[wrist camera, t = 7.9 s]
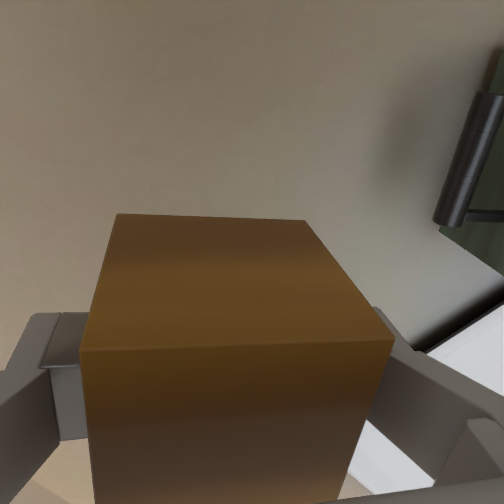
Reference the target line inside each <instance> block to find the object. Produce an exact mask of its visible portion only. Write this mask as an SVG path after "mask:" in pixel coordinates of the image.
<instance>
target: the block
mask: <svg viewBox="0 0 504 504" xmlns="http://www.w3.org/2000/svg"><path fill="white" fill-rule="evenodd" d="M394 342H395V336H394V335H393V333H392V332H391V331H390V330H389V328H388V327H387V326H386V324H385V323H384V322H383V321H382V319H381V318H380V317H379V315H378V314H377V313H376V311H375V310H374V309H373V308H372V306H371V305H370V304H369V302H368V301H367V300H366V299H365V297H364V296H363V295H362V293H361V292H360V291H359V290H358V288H357V287H356V286H355V284H354V283H353V282H352V280H351V279H350V278H349V277H348V275H347V274H346V273H345V271H344V270H343V269H342V268H341V266H340V265H339V264H338V262H337V261H336V260H335V258H334V257H333V256H332V255H331V253H330V252H329V251H328V249H327V248H326V247H325V246H324V244H323V243H322V242H321V240H320V239H319V238H318V236H317V235H316V234H315V233H314V231H313V230H312V229H311V227H310V226H309V225H308V224H307V222H306V221H305V220H283V219H255V218H227V217H199V216H171V215H143V214H117V215H116V217H115V221H114V225H113V228H112V232H111V235H110V239H109V243H108V246H107V250H106V254H105V257H104V261H103V264H102V268H101V272H100V275H99V279H98V282H97V286H96V290H95V293H94V297H93V300H92V304H91V308H90V311H89V315H88V318H87V322H86V326H85V329H84V333H83V336H82V340H81V344H80V347H79V359H80V368H81V377H82V387H83V396H84V406H85V415H86V424H87V434H88V443H89V453H90V462H91V471H92V481H93V490H94V499H95V504H311V503H318V502H325V501H333V500H337V498H338V496H339V493H340V490H341V487H342V485H343V482H344V479H345V477H346V474H347V471H348V468H349V466H350V463H351V460H352V457H353V455H354V452H355V449H356V446H357V444H358V441H359V438H360V435H361V433H362V430H363V427H364V424H365V422H366V419H367V416H368V413H369V411H370V408H371V405H372V403H373V400H374V397H375V394H376V392H377V389H378V386H379V383H380V381H381V378H382V375H383V372H384V370H385V367H386V364H387V361H388V359H389V356H390V353H391V350H392V348H393V345H394Z"/></svg>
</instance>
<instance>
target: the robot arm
mask: <svg viewBox="0 0 504 504" xmlns="http://www.w3.org/2000/svg"><path fill="white" fill-rule="evenodd" d="M372 308H373V309H374V310H375V311H376V313H377V314H378V315H379V317H380V318H381V319H382V321H383V322H384V323H385V324H386V326H387V327H388V328H389V330H390V331H391V332H392V333H393V335H394V336H395V342H394V345H393V348H392V350H391V353H390V356H389V359H388V361H387V364H386V367H385V370H384V372H383V375H382V378H381V381H380V383H379V386H378V389H377V392H376V394H375V397H374V400H373V403H372V405H371V408H370V411H369V413H368V416H367V419H366V420H367V421H368V422H370V423H371V424H372V425H373V426H374V427H375V428H376V429H377V430H378V431H380V432H381V433H382V434H383V435H384V436H385V437H386V438H387V439H389V440H390V441H391V442H392V443H393V444H394V445H395V446H396V447H397V448H399V449H400V450H401V451H402V452H403V453H404V454H405V455H406V456H408V457H409V458H410V459H411V460H412V461H413V462H414V463H415V464H416V465H418V466H419V467H420V468H421V469H422V470H423V471H424V472H425V473H427V474H428V475H429V476H430V477H431V478H432V479H433V480H434V483H433V485H432V487H427V488H419V489H412V490H405V491H398V492H390V493H383V494H376V495H369V496H362V497H354V498H347V499H340V500H333V501H325V502H318V503H311V504H504V396H502V395H500V394H498V393H496V392H494V391H493V390H491V389H489V388H487V387H485V386H483V385H482V384H480V383H478V382H476V381H474V380H472V379H471V378H469V377H467V376H465V375H463V374H461V373H460V372H458V371H456V370H454V369H452V368H450V367H449V366H447V365H445V364H443V363H441V362H439V361H438V360H436V359H434V358H432V357H430V356H428V355H427V354H425V353H423V352H421V351H414V350H413V349H412V348H411V347H410V345H409V344H408V343H407V342H406V340H405V339H404V338H403V337H402V336H401V334H400V333H399V332H398V331H397V329H396V328H395V327H394V326H393V324H392V323H391V322H390V321H389V319H388V318H387V317H386V316H385V314H384V313H383V312H382V311H381V309H379V308H377V307H372ZM88 315H89V312H63V313H60V312H59V313H35V314H34V315H32V316H31V317H30V319H29V321H28V323H27V325H26V327H25V330H24V332H23V334H22V336H21V338H20V340H19V342H18V344H17V346H16V348H15V350H14V352H13V354H12V356H11V358H10V360H9V362H8V364H7V366H6V368H5V370H4V371H0V504H9V503H10V502H11V501H12V500H13V498H14V497H15V496H16V495H17V493H18V492H19V491H20V490H21V489H22V488H23V487H24V485H25V484H26V483H27V482H28V481H29V480H30V478H31V477H32V476H33V475H34V474H35V473H36V471H37V470H38V469H39V468H40V467H41V465H42V464H43V463H44V462H45V461H46V460H47V458H48V457H49V456H50V455H51V454H52V453H53V451H54V450H55V449H56V448H57V447H58V445H59V444H60V442H59V441H66V440H75V439H84V438H88V434H87V424H86V415H85V406H84V396H83V387H82V377H81V368H80V359H79V347H80V344H81V340H82V336H83V333H84V329H85V326H86V322H87V318H88Z"/></svg>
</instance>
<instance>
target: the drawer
mask: <svg viewBox="0 0 504 504" xmlns="http://www.w3.org/2000/svg"><path fill="white" fill-rule="evenodd" d="M432 220H433V221H434V222H435V223H437V224H439V225H441V226H440V228H439V232H441V233H442V234H444V235H445V236H447V237H448V238H449V239H451V240H452V241H454V242H455V243H457V244H458V245H460V246H461V247H462V248H464V249H465V250H467V251H468V252H470V253H471V254H473V255H474V256H475V257H477V258H478V259H480V260H481V261H483V262H484V263H485V264H487V265H488V266H490V267H491V268H493V269H494V270H496V271H497V272H498V273H500V274H501V275H503V276H504V48H503V51H502V54H501V57H500V59H499V62H498V65H497V68H496V71H495V74H494V76H493V79H492V82H491V85H490V88H489V90H488V92H481V91H476V92H475V95H474V97H473V100H472V103H471V106H470V109H469V112H468V115H467V118H466V121H465V124H464V127H463V130H462V133H461V135H460V138H459V141H458V144H457V147H456V150H455V153H454V156H453V159H452V162H451V165H450V168H449V171H448V174H447V176H446V179H445V182H444V185H443V188H442V191H441V194H440V197H439V200H438V203H437V206H436V209H435V212H434V215H433V217H432Z"/></svg>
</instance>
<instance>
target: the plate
mask: <svg viewBox="0 0 504 504" xmlns="http://www.w3.org/2000/svg"><path fill="white" fill-rule="evenodd" d="M423 353H425V354H427V355H428V356H430V357H432V358H434V359H436V360H438V361H439V362H441V363H443V364H445V365H447V366H449V367H450V368H452V369H454V370H456V371H458V372H460V373H461V374H463V375H465V376H467V377H469V378H471V379H472V380H474V381H476V382H478V383H480V384H482V385H483V386H485V387H487V388H489V389H491V390H493V391H494V392H496V393H498V394H500V395H502V396H504V301H502V302H501V303H499V304H497V305H496V306H494V307H493V308H491V309H490V310H488V311H487V312H485V313H484V314H482V315H481V316H479V317H477V318H476V319H474V320H473V321H471V322H470V323H468V324H467V325H465V326H464V327H462V328H460V329H459V330H457V331H456V332H454V333H453V334H451V335H450V336H448V337H447V338H445V339H443V340H442V341H440V342H439V343H437V344H436V345H434V346H433V347H431V348H430V349H428V350H426V351H425V352H423ZM347 472H348V473H350V474H351V475H352V476H353V477H354V478H355V479H357V480H358V481H359V482H360V483H361V484H363V485H364V486H365V487H366V488H367V489H368V490H370V491H371V492H372V493H373V494H374V495H376V494H383V493H390V492H398V491H405V490H412V489H419V488H427V487H432V485H433V483H434V480H433V479H432V478H431V477H430V476H429V475H428V474H427V473H425V472H424V471H423V470H422V469H421V468H420V467H419V466H418V465H416V464H415V463H414V462H413V461H412V460H411V459H410V458H409V457H408V456H406V455H405V454H404V453H403V452H402V451H401V450H400V449H399V448H397V447H396V446H395V445H394V444H393V443H392V442H391V441H390V440H389V439H387V438H386V437H385V436H384V435H383V434H382V433H381V432H380V431H378V430H377V429H376V428H375V427H374V426H373V425H372V424H371V423H370V422H368V421H367V420H366V422H365V424H364V427H363V430H362V433H361V435H360V438H359V441H358V444H357V446H356V449H355V452H354V455H353V457H352V460H351V463H350V466H349V468H348V471H347Z"/></svg>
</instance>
